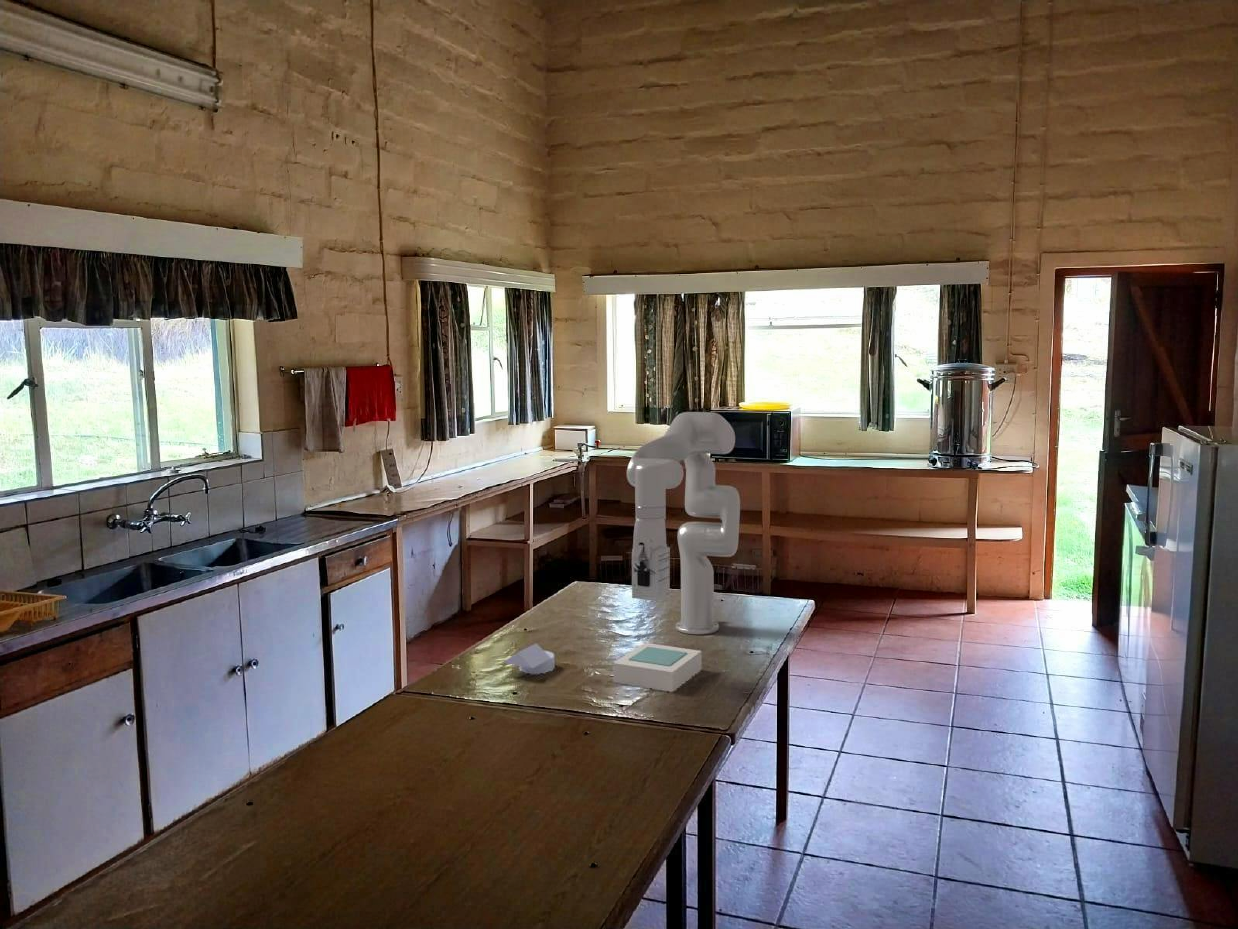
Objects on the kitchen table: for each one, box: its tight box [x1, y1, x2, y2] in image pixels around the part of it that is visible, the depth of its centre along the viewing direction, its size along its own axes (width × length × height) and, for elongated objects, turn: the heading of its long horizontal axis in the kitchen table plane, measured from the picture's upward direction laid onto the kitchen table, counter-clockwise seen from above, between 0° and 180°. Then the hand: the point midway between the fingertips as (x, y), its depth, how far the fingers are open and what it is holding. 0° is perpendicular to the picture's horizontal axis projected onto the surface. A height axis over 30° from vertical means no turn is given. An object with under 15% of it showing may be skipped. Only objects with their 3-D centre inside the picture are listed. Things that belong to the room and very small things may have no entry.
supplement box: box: [631, 546, 671, 602], centre depth 245 cm, size 7×7×13 cm
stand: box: [612, 642, 702, 693], centre depth 246 cm, size 18×16×5 cm
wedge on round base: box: [503, 643, 555, 675], centre depth 252 cm, size 9×7×13 cm
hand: (651, 582), depth 245 cm, fingers closed on supplement box, 7 cm apart
